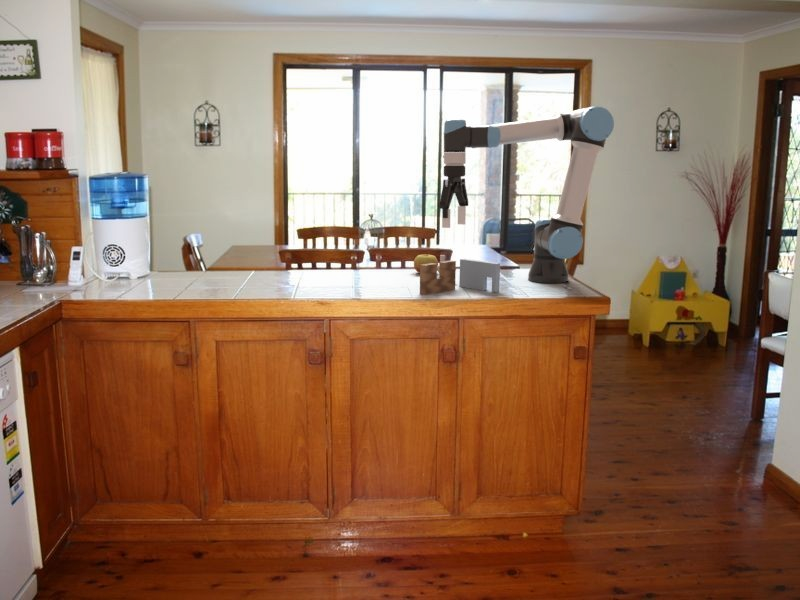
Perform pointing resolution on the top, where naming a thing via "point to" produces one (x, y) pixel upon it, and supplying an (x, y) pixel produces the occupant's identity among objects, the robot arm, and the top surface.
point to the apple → (424, 261)
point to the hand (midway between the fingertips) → (454, 226)
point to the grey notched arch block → (479, 274)
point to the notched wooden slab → (434, 283)
